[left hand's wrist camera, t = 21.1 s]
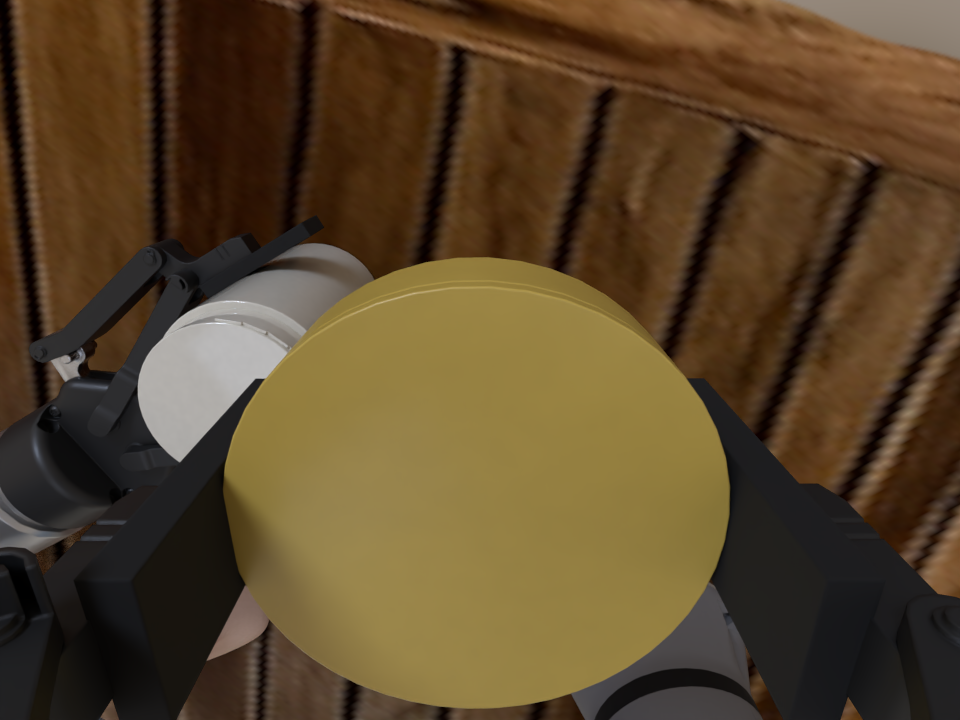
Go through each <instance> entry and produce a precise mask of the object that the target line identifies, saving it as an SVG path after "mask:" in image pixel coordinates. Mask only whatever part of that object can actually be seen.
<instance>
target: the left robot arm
mask: <svg viewBox="0 0 960 720" xmlns="http://www.w3.org/2000/svg"><path fill="white" fill-rule="evenodd" d="M686 379H687V378H686ZM264 380H265V379H255V380H254V381H253V382H252V383H251V384H250V385H249V386H248V387H247V389H246V390H245V391H244V392H243V393H242V394H241V395H240V396H239V397H238V399H237V400H236V401H235V402H234V403H233V404H232V405H231V406H230V407H229V409H228V410H227V411H226V412H225V413H224V414H223V415H222V416H221V417H220V418H219V420H218V421H217V422H216V423H215V424H214V425H213V426H212V427H211V428H210V430H209V431H208V432H207V433H206V434H205V435H204V436H203V437H202V438H201V439H200V441H199V442H198V443H197V444H196V445H195V446H194V447H193V448H192V449H191V451H190V452H189V453H188V454H187V455H186V456H185V457H184V458H183V459H182V461H181V462H180V463H179V464H178V465H177V466H176V467H175V468H174V469H173V470H172V472H171V473H170V474H169V475H168V476H167V477H166V478H165V479H164V480H163V482H162V483H161V484H160V485H159V486H141V487H139V488H137V489H136V490H134V491H132V492H131V493H129V494H127V495H126V496H124V497H123V498H121V499H119V500H118V501H116V502H115V503H114V504H113V505H112V506H111V507H110V508H109V509H108V510H107V511H106V512H105V513H104V514H103V515H102V516H101V517H100V518H99V519H98V520H97V523H96V525H92V526H91V527H90V528H89V529H88V530H87V531H86V532H85V533H84V534H83V535H82V536H81V540H80V541H76V542H75V543H74V544H73V545H72V546H71V547H70V548H69V550H68V551H67V552H66V553H65V554H64V555H63V556H62V557H61V558H60V559H59V560H58V561H57V562H56V563H55V564H54V565H53V566H52V567H51V568H50V569H49V570H48V571H47V572H46V573H45V574H44V575H43V574H42V572H41V569H40V566H39V563H38V560H37V557H36V555H35V554H34V553H32V552H31V551H29V550H28V549H26V548H18V547H3V548H0V720H99V718H100V717H101V715H102V714H103V712H104V710H105V709H106V707H107V706H108V704H109V703H110V701H111V700H112V699H113V702H114V705H115V708H116V711H117V714H118V717H119V720H176V719H177V717H178V715H179V713H180V711H181V709H182V708H183V706H184V704H185V702H186V700H187V698H188V696H189V694H190V692H191V690H192V688H193V686H194V684H195V682H196V680H197V678H198V676H199V675H200V673H201V671H202V669H203V667H204V665H205V663H206V661H207V659H208V657H209V655H210V653H211V651H212V649H213V647H214V645H215V643H216V642H217V640H218V638H219V636H220V634H221V632H222V630H223V628H224V626H225V624H226V622H227V620H228V618H229V616H230V614H231V612H232V610H233V609H234V607H235V605H236V603H237V601H238V599H239V597H240V595H241V593H242V591H243V589H244V587H245V585H246V584H245V582H244V581H243V579H242V577H241V575H240V573H239V571H238V566H237V562H236V557H235V552H234V547H233V542H232V536H231V531H230V526H229V521H228V516H227V511H226V506H225V500H224V495H223V481H224V472H225V463H226V460H227V456H228V452H229V448H230V445H231V441H232V437H233V435H234V432H235V430H236V428H237V426H238V423H239V421H240V419H241V417H242V415H243V412H244V410H245V408H246V407H247V405H248V403H249V402H250V400H251V399H252V397H253V396H254V394H255V393H256V391H257V390H258V388H259V387H260V385H261V384H262V382H263V381H264ZM687 380H688V381H689V383H690V384H691V386H692V387H693V388H694V390H695V391H696V393H697V394H698V395H699V397H700V398H701V399H702V401H703V403H704V405H705V407H706V409H707V410H708V412H709V414H710V416H711V418H712V420H713V422H714V424H715V426H716V428H717V431H718V434H719V437H720V440H721V444H722V447H723V450H724V453H725V456H726V462H727V469H728V475H729V482H730V515H729V521H728V527H727V532H726V538H725V543H724V546H723V549H722V552H721V555H720V558H719V561H718V564H717V567H716V569H715V571H714V573H713V575H712V577H711V579H710V581H709V583H708V585H707V587H706V589H705V591H704V592H703V594H702V595H701V597H700V598H699V600H698V601H697V603H696V604H695V605H694V607H693V608H692V610H691V611H690V613H689V614H688V615H687V616H686V617H685V619H684V620H683V621H682V622H681V623H680V624H679V625H678V626H677V627H676V629H675V630H674V631H673V632H672V633H671V634H670V635H669V636H668V637H667V638H665V639H664V640H663V641H662V642H661V643H660V644H659V645H657V646H656V647H655V648H654V649H653V650H652V651H651V652H649V653H648V654H646V655H645V656H644V657H642V658H641V659H639V660H638V661H636V662H635V663H633V664H632V665H630V666H629V667H628V668H626V669H624V670H622V671H620V672H618V673H617V674H615V675H613V676H611V677H609V678H607V679H605V680H604V681H601V682H599V683H597V684H594V685H592V686H589V687H587V688H585V689H582V690H580V691H577V692H574V693H571V694H572V696H573V698H574V700H575V702H576V704H577V706H578V707H579V709H580V711H581V713H582V715H583V717H584V718H585V720H763V719H762V717H761V715H760V713H759V711H758V709H757V707H756V704H755V702H754V700H753V698H752V696H751V692H750V684H749V675H748V667H747V659H746V650H745V646H746V648H747V650H748V652H749V654H750V656H751V658H752V660H753V662H754V664H755V665H756V667H757V669H758V671H759V673H760V675H761V677H762V679H763V681H764V683H765V685H766V687H767V689H768V691H769V693H770V695H771V697H772V699H773V700H774V702H775V704H776V706H777V708H778V710H779V712H780V714H781V716H782V718H783V720H840V719H841V716H842V713H843V710H844V707H845V704H846V701H847V698H848V697H849V699H850V700H851V702H852V703H853V705H854V706H855V708H856V709H857V711H858V713H859V714H860V716H861V717H862V719H863V720H960V599H959V598H957V597H952V596H946V595H941V594H937V593H936V592H935V591H934V590H933V589H932V588H931V587H930V586H929V585H928V584H927V583H926V582H925V581H924V580H923V579H922V577H921V576H920V575H919V574H918V573H917V572H916V571H915V570H914V569H913V568H912V567H911V566H910V565H909V564H908V563H907V562H906V561H905V560H904V559H903V558H902V557H901V556H900V555H899V554H898V553H897V552H896V551H895V550H894V549H893V548H892V547H891V546H890V545H889V544H888V543H887V542H886V541H885V540H884V539H880V537H879V534H878V533H877V532H876V531H875V530H874V529H873V528H872V527H871V526H870V525H869V524H868V523H864V519H863V518H862V517H861V516H860V515H859V514H858V513H857V512H856V511H855V510H854V509H853V508H852V507H851V506H850V505H849V504H848V503H847V502H846V501H845V500H844V499H843V498H841V497H839V496H838V495H836V494H834V493H833V492H831V491H829V490H828V489H826V488H824V487H823V486H821V485H819V484H799V483H798V482H797V481H796V480H795V479H794V478H793V476H792V475H791V474H790V473H789V472H788V471H787V470H786V469H785V468H784V466H783V465H782V464H781V463H780V462H779V461H778V460H777V459H776V458H775V456H774V455H773V454H772V453H771V452H770V451H769V450H768V449H767V448H766V447H765V445H764V444H763V443H762V442H761V441H760V440H759V439H758V438H757V437H756V435H755V434H754V433H753V432H752V431H751V430H750V429H749V428H748V427H747V426H746V424H745V423H744V422H743V421H742V420H741V419H740V418H739V417H738V416H737V414H736V413H735V412H734V411H733V410H732V409H731V408H730V407H729V406H728V404H727V403H726V402H725V401H724V400H723V399H722V398H721V397H720V396H719V395H718V393H717V392H716V391H715V390H714V389H713V388H712V387H711V386H710V385H709V383H708V382H707V381H706V380H705V379H687Z"/></svg>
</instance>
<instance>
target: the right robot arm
mask: <svg viewBox="0 0 960 720" xmlns="http://www.w3.org/2000/svg"><path fill="white" fill-rule="evenodd" d="M323 228H324V226H323V225H322V223H321V222H320V220H319V219H318V217H317V216H316V215H315V216H314V217H312V218H310V219H308V220H306V221H304V222H302V223H300V224H299V225H297V226H296V227H294V228H292V229H291V230H289V231H288V232H286V233H284V234H283V235H281V236H279V237H278V238H276V239H275V240H273V241H271V242H270V243H268V244H267V245H265V246H263V247H262V248H261V247H260V245H259V244H258V242H257V241H256V240H255V238H254V237H253V235H252V234H251V233H246V234H240V235H238V236H236V237H233V238H231V239H229V240H228V241H226V242H225V243H223V244H221V245H220V246H218V247H217V248H215V249H213V250H212V251H210V252H209V253H207V254H205V255H204V256H202V257H201V258H199V257H194V256H192V255H190V254H189V253H187V252H186V251H185V250H184V247H183V245H182V244H181V243H180V242H179V241H177V240H175V239H167V240H164V241H161V242H158V243H156V244H153V245H150V246H147V247H144V248H143V249H141V250H140V251H139V252H138V253H137V254H136V255H135V256H134V257H133V258H132V259H131V260H130V261H129V262H128V263H127V264H126V265H125V266H124V267H123V268H122V269H121V270H120V271H119V272H118V273H117V274H116V275H115V276H114V277H113V278H112V279H111V281H110V282H109V283H108V284H107V285H106V286H105V287H104V288H103V289H102V290H101V291H100V292H99V293H98V294H97V295H96V296H95V297H94V298H93V299H92V300H91V301H90V302H89V303H88V304H87V305H86V306H85V307H84V308H83V309H82V310H81V311H80V312H79V313H78V314H77V315H76V316H75V317H74V319H73V320H72V321H71V322H70V323H69V324H68V325H67V326H66V327H65V328H63V329H61V330H59V331H56V332H54V333H52V334H50V335H48V336H46V337H44V338H42V339H40V340H38V341H36V342H34V343H32V344H31V345H30V347H29V352H30V354H31V356H32V357H33V358H34V359H35V360H37V361H39V362H48V361H51V362H52V363H53V365H54V366H55V368H56V369H57V371H58V372H59V374H60V375H61V376H62V378H63V379H64V381H65V383H64V384H63V385H62V387H61V389H60V392H59V395H58V396H57V398H55V399H53V400H52V401H50V402H48V403H47V404H45V405H44V406H42V407H40V408H39V409H37V410H35V411H34V412H32V413H30V414H29V415H27V416H25V417H24V418H22V419H21V420H19V421H17V422H16V423H14V424H13V425H11V426H10V427H9V428H7V429H5V430H3V431H2V432H0V548H3V547H18V548H26V549H28V550H29V551H31V552H32V553H34V554H36V553H38V552H39V551H41V550H43V549H45V548H47V547H49V546H51V545H53V544H55V543H57V542H58V541H60V540H62V539H64V538H66V537H68V536H70V535H72V534H74V533H75V532H77V531H79V530H81V529H82V528H83V527H85V526H87V525H89V524H91V523H93V522H95V521H97V520H98V519H99V518H100V517H101V516H102V515H103V514H104V513H105V512H106V511H107V510H108V509H109V508H110V507H111V506H112V505H113V504H114V503H115V502H116V501H118V500H119V499H121V498H123V497H124V496H126V495H127V494H129V493H131V492H132V491H134V490H136V489H137V488H139V487H141V486H159V485H160V484H161V483H162V482H163V480H164V479H165V478H166V477H167V476H168V475H169V474H170V473H171V472H172V470H173V469H174V468H175V467H176V466H177V465H178V464H179V463H180V462H178V461H177V460H176V459H174V458H173V457H172V456H171V455H170V454H168V453H167V452H166V451H165V450H164V449H163V448H162V447H161V446H160V444H159V443H158V442H157V441H156V439H155V438H154V437H153V435H152V434H151V432H150V430H149V429H148V427H147V425H146V423H145V421H144V418H143V416H142V413H141V409H140V406H139V400H138V381H139V374H140V371H141V368H142V365H143V363H144V361H145V359H146V357H147V355H148V354H149V352H150V351H151V350H152V348H153V347H154V346H155V345H156V344H157V343H158V342H159V341H160V340H161V339H163V337H164V335H165V334H166V332H167V331H168V329H169V328H170V327H171V326H172V325H173V324H174V323H175V322H176V321H177V320H178V319H179V318H180V317H181V316H183V315H184V314H186V313H187V312H189V311H190V310H192V309H193V308H195V307H196V306H198V305H199V303H200V301H201V299H202V298H203V296H204V294H205V295H206V296H207V297H208V299H209V298H210V297H212V296H213V295H215V294H217V293H218V292H220V291H222V290H223V289H225V288H227V287H228V286H230V285H231V284H233V283H235V282H236V281H238V280H240V279H241V278H243V277H245V276H246V275H248V274H249V273H251V272H253V271H254V270H256V269H258V268H259V267H261V266H263V265H264V264H266V263H267V262H269V261H271V260H272V259H274V258H276V257H277V256H279V255H281V254H282V253H284V252H285V251H287V250H289V249H290V248H292V247H294V246H295V245H297V244H299V243H300V242H302V241H303V240H305V239H307V238H308V237H310V236H312V235H313V234H315V233H316V232H318V231H319V230H321V229H323ZM163 276H165V277H166V279H165V280H170V281H169V283H168V285H167V287H166V288H165V290H164V292H163V294H162V296H161V298H160V299H159V301H158V303H157V305H156V307H155V309H154V311H153V312H152V314H151V316H150V318H149V320H148V322H147V323H146V325H145V327H144V329H143V331H142V333H141V334H140V336H139V338H138V340H137V342H136V344H135V345H134V347H133V349H132V351H131V353H130V355H129V356H128V358H127V360H126V362H125V364H124V365H123V366H122V367H121V369H120V370H119V371H118V372H108V371H98V370H89V368H88V360H89V359H90V358H91V357H92V356H94V354H95V348H96V347H97V343H96V342H95V341H94V340H95V339H97V338H99V337H100V336H102V335H104V334H105V333H106V332H108V331H109V330H110V329H111V328H112V327H113V326H114V325H115V324H116V323H117V322H118V321H119V320H120V319H121V318H122V317H123V316H124V315H125V314H126V313H127V312H128V311H129V310H130V309H131V308H132V307H133V306H134V305H135V304H136V303H137V302H138V301H139V300H140V299H141V298H142V297H143V296H144V295H145V294H146V293H147V292H148V291H149V290H150V289H151V288H152V287H153V286H154V285H155V284H156V283H157V282H158V281H159V280H160V279H161V278H162V277H163ZM99 720H104V719H102V718H99Z"/></svg>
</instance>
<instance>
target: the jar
mask: <svg viewBox="0 0 960 720" xmlns="http://www.w3.org/2000/svg"><path fill="white" fill-rule="evenodd" d="M372 281H374V278H373V277H372V275H371V274H370V272H369V271H368V269H367V268H366V267H365V266H364V265H363V264H362V263H361V262H360V261H359V260H358V259H356V258H355V257H354V256H352V255H351V254H349V253H348V252H346V251H344V250H341V249H339V248H336V247H334V246H330V245H325V244H316V243H313V244H303V245H298V246H295V247H292V248H290V249H289V250H287V251H285V252H284V253H282V254H281V255H279V256H277V257H276V258H274V259H272V260H271V261H269V262H267V263H266V264H264V265H263V266H261V267H259V268H258V269H256V270H254V271H253V272H251V273H249V274H248V275H246V276H245V277H243V278H241V279H240V280H238V281H236V282H235V283H233V284H231V285H230V286H228V287H227V288H225V289H223V290H222V291H220V292H219V293H217V294H216V295H214V296H212V297H211V298H209V299H208V300H206V301H204V302H203V303H201V304H200V305H198V306H196V307H195V308H193V309H192V310H190V311H189V312H187V313H186V314H184V315H183V316H181V317H180V318H179V319H178V320H177V321H176V322H175V323H174V324H173V325H172V326H171V327H170V328H169V329H168V331H167V332H166V334H165V335H164V337H163V339H161V340H160V341H159V342H158V343H157V344H156V345H155V346H154V347H153V348H152V350H151V351H150V352H149V354H148V355H147V357H146V359H145V361H144V363H143V365H142V368H141V371H140V374H139V381H138V400H139V406H140V409H141V413H142V416H143V418H144V421H145V423H146V425H147V427H148V429H149V430H150V432H151V434H152V435H153V437H154V438H155V439H156V441H157V442H158V443H159V444H160V446H161V447H162V448H163V449H164V450H165V451H166V452H167V453H168V454H170V455H171V456H172V457H173V458H174V459H176V460H177V461H178V462H181V461H182V459H183V458H184V457H185V456H186V455H187V454H188V453H189V452H190V451H191V449H192V448H193V447H194V446H195V445H196V444H197V443H198V442H199V441H200V439H201V438H202V437H203V436H204V435H205V434H206V433H207V432H208V431H209V430H210V428H211V427H212V426H213V425H214V424H215V423H216V422H217V421H218V420H219V418H220V417H221V416H222V415H223V414H224V413H225V412H226V411H227V410H228V409H229V407H230V406H231V405H232V404H233V403H234V402H235V401H236V400H237V399H238V397H239V396H240V395H241V394H242V393H243V392H244V391H245V390H246V389H247V387H248V386H249V385H250V384H251V383H252V382H253V381H254V380H255V379H266V378H267V376H268V375H269V374H270V373H271V372H272V371H273V369H274V368H275V367H276V366H277V365H278V364H279V363H280V361H281V360H282V359H283V358H284V357H285V356H286V354H287V353H288V352H289V351H290V350H291V349H292V348H293V346H294V345H295V344H296V343H297V342H298V341H299V339H300V338H301V337H302V336H303V335H304V334H305V333H306V332H307V331H308V329H309V328H310V327H311V326H312V325H313V324H314V323H315V322H316V321H317V319H318V318H319V317H321V316H322V315H323V314H324V313H325V312H327V311H328V310H329V309H330V308H331V307H333V306H334V305H335V304H336V303H337V302H339V301H340V300H341V299H343V298H344V297H346V296H347V295H349V294H351V293H352V292H354V291H356V290H357V289H359V288H361V287H362V286H364V285H365V284H367V283H369V282H372Z"/></svg>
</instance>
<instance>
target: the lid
mask: <svg viewBox="0 0 960 720" xmlns="http://www.w3.org/2000/svg"><path fill="white" fill-rule="evenodd" d="M223 495H224V500H225V506H226V511H227V516H228V521H229V526H230V531H231V536H232V542H233V547H234V552H235V557H236V562H237V566H238V571H239V573H240V575H241V577H242V579H243V581H244V582H245V584H246V586H247V588H248V590H249V592H250V593H251V595H252V597H253V598H254V600H255V601H256V602H257V604H258V605H259V606H260V608H261V609H262V610H263V612H264V613H265V614H266V616H267V617H268V619H269V620H270V621H271V622H272V623H273V624H274V625H275V626H276V627H277V628H278V629H279V630H280V631H281V632H282V633H283V634H284V635H285V636H286V637H287V638H288V639H289V640H290V641H291V642H292V643H294V644H295V645H296V646H297V647H299V648H300V649H301V650H302V651H303V652H305V653H306V654H307V655H308V656H310V657H311V658H313V659H314V660H316V661H317V662H319V663H320V664H322V665H323V666H325V667H327V668H328V669H330V670H331V671H333V672H335V673H337V674H339V675H341V676H343V677H345V678H347V679H349V680H351V681H353V682H355V683H357V684H359V685H362V686H364V687H367V688H369V689H372V690H375V691H377V692H380V693H382V694H386V695H389V696H393V697H396V698H400V699H404V700H407V701H411V702H417V703H423V704H428V705H434V706H441V707H454V708H466V709H468V708H501V707H511V706H520V705H526V704H531V703H536V702H541V701H546V700H551V699H554V698H558V697H561V696H564V695H567V694H571V693H574V692H577V691H580V690H582V689H585V688H587V687H589V686H592V685H594V684H597V683H599V682H601V681H604V680H605V679H607V678H609V677H611V676H613V675H615V674H617V673H618V672H620V671H622V670H624V669H626V668H628V667H629V666H630V665H632V664H633V663H635V662H636V661H638V660H639V659H641V658H642V657H644V656H645V655H646V654H648V653H649V652H651V651H652V650H653V649H654V648H655V647H656V646H657V645H659V644H660V643H661V642H662V641H663V640H664V639H665V638H667V637H668V636H669V635H670V634H671V633H672V632H673V631H674V630H675V629H676V627H677V626H678V625H679V624H680V623H681V622H682V621H683V620H684V619H685V617H686V616H687V615H688V614H689V613H690V611H691V610H692V608H693V607H694V605H695V604H696V603H697V601H698V600H699V598H700V597H701V595H702V594H703V592H704V591H705V589H706V587H707V585H708V583H709V581H710V579H711V577H712V575H713V573H714V571H715V569H716V567H717V564H718V561H719V558H720V555H721V552H722V549H723V546H724V543H725V538H726V532H727V527H728V521H729V515H730V482H729V475H728V469H727V462H726V456H725V453H724V450H723V447H722V444H721V440H720V437H719V434H718V431H717V428H716V426H715V424H714V422H713V420H712V418H711V416H710V414H709V412H708V410H707V409H706V407H705V405H704V403H703V401H702V399H701V398H700V397H699V395H698V394H697V393H696V391H695V390H694V388H693V387H692V386H691V384H690V383H689V381H688V380H687V379H686V377H685V376H684V375H683V373H682V372H681V371H680V370H679V369H678V368H677V366H676V365H675V364H674V363H673V362H672V360H671V359H670V358H669V357H668V356H667V354H666V353H665V352H664V351H663V350H662V348H661V347H660V346H659V345H658V344H657V342H656V341H655V340H654V339H653V338H652V336H651V335H650V334H649V333H648V332H647V331H646V330H645V329H644V328H643V327H642V326H641V325H640V324H639V323H638V322H637V321H636V320H635V318H634V317H633V316H632V315H631V314H630V313H629V312H627V311H626V310H625V309H623V308H622V307H621V306H619V305H618V304H617V303H615V302H614V301H613V300H612V299H610V298H609V297H608V296H606V295H605V294H603V293H601V292H600V291H598V290H596V289H594V288H592V287H591V286H589V285H587V284H585V283H584V282H582V281H580V280H578V279H575V278H573V277H570V276H568V275H565V274H563V273H560V272H558V271H555V270H553V269H550V268H546V267H542V266H538V265H534V264H530V263H526V262H522V261H515V260H506V259H498V258H489V257H485V258H453V259H446V260H440V261H433V262H426V263H422V264H419V265H415V266H412V267H408V268H405V269H401V270H398V271H394V272H392V273H390V274H388V275H385V276H383V277H381V278H379V279H376V280H374V281H372V282H369V283H367V284H365V285H364V286H362V287H361V288H359V289H357V290H356V291H354V292H352V293H351V294H349V295H347V296H346V297H344V298H343V299H341V300H340V301H339V302H337V303H336V304H335V305H334V306H333V307H331V308H330V309H329V310H328V311H327V312H325V313H324V314H323V315H322V316H321V317H319V318H318V319H317V321H316V322H315V323H314V324H313V325H312V326H311V327H310V328H309V329H308V331H307V332H306V333H305V334H304V335H303V336H302V337H301V338H300V339H299V341H298V342H297V343H296V344H295V345H294V346H293V348H292V349H291V350H290V351H289V352H288V353H287V354H286V356H285V357H284V358H283V359H282V360H281V361H280V363H279V364H278V365H277V366H276V367H275V368H274V369H273V371H272V372H271V373H270V374H269V375H268V376H267V378H266V379H265V380H264V381H263V382H262V384H261V385H260V387H259V388H258V390H257V391H256V393H255V394H254V396H253V397H252V399H251V400H250V402H249V403H248V405H247V407H246V408H245V410H244V412H243V415H242V417H241V419H240V421H239V423H238V426H237V428H236V430H235V432H234V435H233V437H232V441H231V445H230V448H229V452H228V456H227V460H226V463H225V472H224V481H223Z"/></svg>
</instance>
